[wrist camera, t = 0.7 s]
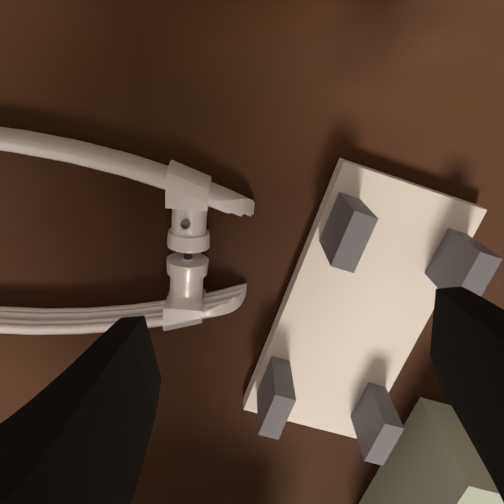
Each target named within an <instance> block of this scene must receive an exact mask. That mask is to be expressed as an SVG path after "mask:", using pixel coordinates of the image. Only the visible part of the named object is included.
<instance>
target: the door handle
mask: <svg viewBox="0 0 504 504" xmlns="http://www.w3.org/2000/svg"><path fill="white" fill-rule="evenodd" d="M0 151H8V152H15V153H20V154H26V155H31V156H36V157H42V158H47V159H52V160H58V161H63V162H68V163H72V164H76V165H80V166H84V167H88V168H92V169H96V170H100V171H104V172H108V173H112V174H116V175H120V176H123V177H127V178H130V179H133V180H136V181H139V182H142V183H145V184H149V185H152V186H155V187H158V188H161V189H164V190H165V208H170V209H172V226H171V228H170V229H169V230H168V236H167V247H168V248H169V249H171V250H173V251H176V252H175V253H172V254H170V255H168V256H167V259H166V263H167V274H168V275H169V276H170V291H169V293H168V296H167V299H166V300H162V301H154V302H147V303H139V304H131V305H118V306H104V307H90V308H30V307H7V306H0V333H2V334H26V335H56V334H90V333H103V332H106V331H107V330H108V329H109V328H110V327H111V326H112V325H113V324H114V323H115V322H116V321H118V320H119V319H120V318H122V317H133V316H144V315H145V319H146V323H147V327H148V328H152V327H160V326H162V327H163V330H164V331H168V330H172V329H177V328H182V327H186V326H191V325H196V324H201V323H202V321H203V319H206V318H211V317H216V316H221V315H224V314H228V313H231V312H233V311H235V310H236V309H237V308H239V307H240V305H241V304H242V302H243V301H244V298H245V296H246V289H247V283H244V284H240V285H236V286H232V287H228V288H224V289H221V290H217V291H212V292H207V293H206V289H203V278H204V277H205V276H206V275H207V270H208V263H209V259H208V257H207V256H205V255H203V254H201V253H200V252H204V251H206V250H208V249H209V247H210V232H209V231H208V230H207V229H206V223H207V211H208V207H209V206H210V207H212V208H215V209H217V210H220V211H222V212H225V213H233V214H236V215H238V216H242V215H243V214H246V215H248V216H250V217H251V215H254V205H255V203H254V201H253V200H251V199H249V198H247V197H245V196H243V195H241V194H239V193H237V192H234V191H232V190H230V189H228V188H226V187H223V186H220V185H218V184H215V183H213V182H212V177H211V176H209V175H207V174H205V173H202V172H200V171H197V170H195V169H193V168H190V167H188V166H186V165H183V164H181V163H179V162H176V161H174V160H171V161H170V163H169V166H168V165H165V164H162V163H158V162H155V161H152V160H149V159H146V158H143V157H140V156H137V155H134V154H131V153H127V152H123V151H119V150H115V149H111V148H107V147H103V146H100V145H96V144H92V143H88V142H84V141H80V140H75V139H70V138H65V137H60V136H54V135H49V134H44V133H39V132H33V131H28V130H22V129H14V128H6V127H0Z"/></svg>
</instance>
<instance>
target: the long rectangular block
mask: <svg viewBox="0 0 504 504" xmlns="http://www.w3.org/2000/svg"><path fill="white" fill-rule="evenodd" d="M403 427H404V430H403V432H402V434H401V436H400V437H399V439H398V441H397V443H396V444H395V446H394V448H393V449H392V451H391V453H390V455H389V456H388V458H387V460H386V462H385V463H384V465H383V466H382V465H381V466H380V468H379V469H378V471H377V473H376V475H375V476H374V478H373V480H372V481H371V483H370V485H369V487H368V488H367V490H366V492H365V494H364V495H363V497H362V499H361V501H360V502H359V504H504V503H503V500H502V498H501V496H500V494H499V492H498V490H497V488H496V486H495V484H494V482H493V480H492V478H491V476H490V474H489V472H488V471H487V469H486V467H485V465H484V463H483V462H482V460H481V458H480V456H479V454H478V453H477V451H476V449H475V447H474V445H473V444H472V442H471V440H470V438H469V436H468V435H467V433H466V431H465V429H464V427H463V426H462V424H461V422H460V420H459V418H458V417H457V415H456V413H455V411H454V409H453V407H452V406H451V405H447V404H444V403H440V402H437V401H433V400H429V399H426V398H422V397H420V398H419V400H418V401H417V403H416V405H415V407H414V408H413V410H412V412H411V414H410V415H409V417H408V419H407V421H406V422H405V424H404V426H403Z"/></svg>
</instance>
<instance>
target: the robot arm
mask: <svg viewBox="0 0 504 504" xmlns="http://www.w3.org/2000/svg"><path fill="white" fill-rule="evenodd" d="M430 357H431V359H432V362H433V365H434V367H435V370H436V373H437V375H438V378H439V380H440V383H441V385H442V388H443V390H444V392H445V394H446V396H447V398H448V400H449V402H450V404H451V406H452V407H453V409H454V411H455V413H456V415H457V417H458V418H459V420H460V422H461V424H462V426H463V427H464V429H465V431H466V433H467V435H468V436H469V438H470V440H471V442H472V444H473V445H474V447H475V449H476V451H477V453H478V454H479V456H480V458H481V460H482V462H483V463H484V465H485V467H486V469H487V471H488V472H489V474H490V476H491V478H492V480H493V482H494V484H495V486H496V488H497V490H498V492H499V494H500V496H501V498H502V500H503V503H504V310H503V309H501V308H500V307H498V306H496V305H494V304H493V303H491V302H489V301H488V300H486V299H484V298H482V297H481V296H479V295H477V294H475V293H474V292H472V291H470V290H468V289H466V288H464V287H462V286H459V287H449V288H438V289H436V293H435V304H434V315H433V326H432V337H431V348H430ZM160 382H161V376H160V372H159V368H158V365H157V361H156V357H155V353H154V349H153V346H152V342H151V338H150V334H149V330H148V327H147V323H146V319H145V315H144V316H133V317H122V318H120V319H119V320H118V321H116V322H115V323H114V324H113V325H112V326H111V327H110V328H109V329H108V330H107V331H106V332H105V333H104V334H103V335H102V336H100V337H99V338H98V339H97V340H96V341H95V342H94V343H93V344H92V345H91V346H90V347H89V348H88V349H87V350H86V351H85V352H84V353H83V354H82V355H81V356H80V357H79V358H78V359H77V360H76V361H74V362H73V363H72V364H71V365H70V366H69V367H68V368H67V369H66V370H65V371H64V372H63V373H61V374H60V375H59V376H58V377H57V378H56V379H55V380H53V381H52V382H51V383H50V384H49V385H48V386H47V387H45V388H44V389H43V390H42V391H41V392H40V393H39V394H37V395H36V396H35V397H34V398H33V399H32V400H30V401H29V402H28V403H27V404H26V405H24V406H23V407H22V408H21V409H19V410H18V411H17V412H15V413H14V414H13V415H12V416H10V417H9V418H8V419H6V420H5V421H4V422H2V423H1V424H0V504H131V503H132V499H133V496H134V492H135V489H136V485H137V482H138V478H139V474H140V471H141V467H142V464H143V460H144V457H145V453H146V449H147V446H148V442H149V438H150V435H151V431H152V427H153V424H154V420H155V416H156V410H157V404H158V397H159V389H160Z"/></svg>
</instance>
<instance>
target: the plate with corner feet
mask: <svg viewBox="0 0 504 504" xmlns="http://www.w3.org/2000/svg"><path fill="white" fill-rule="evenodd" d="M486 212H487V210H486V209H484V208H482V207H480V206H479V205H477V204H474V203H471V202H468V201H465V200H462V199H459V198H456V197H454V196H451V195H448V194H445V193H442V192H439V191H436V190H433V189H430V188H427V187H424V186H421V185H418V184H416V183H413V182H410V181H407V180H404V179H401V178H398V177H395V176H392V175H389V174H386V173H383V172H380V171H377V170H375V169H372V168H369V167H366V166H363V165H360V164H357V163H354V162H351V161H348V160H345V159H342V158H339V160H338V162H337V165H336V167H335V170H334V172H333V175H332V177H331V180H330V182H329V185H328V187H327V190H326V192H325V195H324V197H323V200H322V202H321V205H320V207H319V210H318V212H317V215H316V217H315V220H314V222H313V225H312V227H311V230H310V232H309V235H308V237H307V240H306V242H305V245H304V247H303V250H302V252H301V255H300V257H299V260H298V262H297V265H296V267H295V270H294V272H293V275H292V277H291V280H290V282H289V285H288V287H287V290H286V292H285V295H284V297H283V300H282V302H281V305H280V307H279V310H278V312H277V315H276V317H275V320H274V322H273V325H272V327H271V330H270V332H269V335H268V337H267V340H266V342H265V345H264V347H263V350H262V352H261V355H260V357H259V360H258V362H257V365H256V367H255V370H254V372H253V375H252V377H251V380H250V382H249V385H248V387H247V390H246V392H245V395H244V410H247V411H250V412H254V413H257V419H258V435H261V436H265V437H269V438H273V439H277V440H278V439H279V437H280V435H281V433H282V430H283V428H284V426H285V424H286V422H287V421H290V422H294V423H298V424H302V425H305V426H309V427H313V428H317V429H321V430H325V431H329V432H333V433H337V434H341V435H345V436H349V437H353V438H356V439H357V440H358V443H359V446H360V449H361V452H362V456H363V459H364V461H366V462H370V463H374V464H378V465H382V466H383V465H384V463H385V462H386V460H387V458H388V456H389V455H390V453H391V451H392V449H393V448H394V446H395V444H396V443H397V441H398V439H399V437H400V436H401V434H402V432H403V430H404V427H403V424H402V422H401V420H400V418H399V416H398V413H397V411H396V409H395V407H394V404H393V402H392V400H391V398H390V396H389V391H390V389H391V387H392V385H393V383H394V382H395V380H396V378H397V376H398V374H399V372H400V370H401V369H402V367H403V365H404V363H405V361H406V359H407V357H408V356H409V354H410V352H411V350H412V348H413V346H414V345H415V343H416V341H417V339H418V337H419V335H420V333H421V332H422V330H423V328H424V326H425V324H426V322H427V321H428V319H429V317H430V315H431V313H432V311H433V309H434V304H435V293H436V289H438V288H449V287H459V286H462V287H464V288H466V289H468V290H470V291H472V292H474V293H475V294H477V295H479V296H481V295H482V294H483V292H484V290H485V289H486V287H487V285H488V283H489V282H490V280H491V278H492V276H493V275H494V273H495V271H496V270H497V268H498V266H499V264H500V263H501V261H502V258H500V257H499V256H497V255H496V254H495V253H493V252H492V251H490V250H489V249H488V248H486V247H485V246H483V245H482V244H481V243H479V242H478V241H476V240H475V239H473V238H472V237H473V236H474V234H475V232H476V230H477V228H478V226H479V225H480V223H481V221H482V219H483V217H484V215H485V213H486Z"/></svg>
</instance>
